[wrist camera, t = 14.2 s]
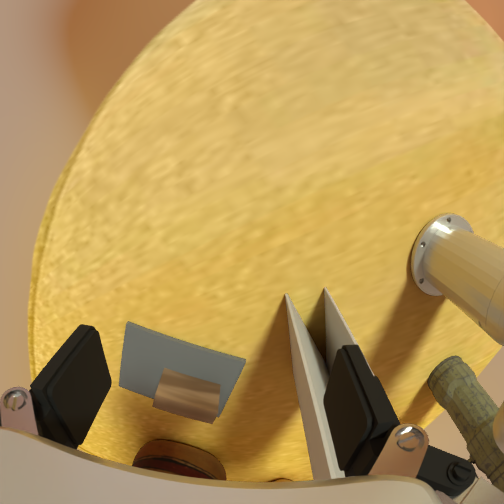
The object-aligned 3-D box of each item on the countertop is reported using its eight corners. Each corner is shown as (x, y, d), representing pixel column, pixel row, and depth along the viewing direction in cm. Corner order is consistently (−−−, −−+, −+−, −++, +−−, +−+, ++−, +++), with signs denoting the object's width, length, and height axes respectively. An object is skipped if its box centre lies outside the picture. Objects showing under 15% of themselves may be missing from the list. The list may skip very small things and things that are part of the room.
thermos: (471, 361, 45) (555, 473, 11) (430, 398, 47) (497, 522, 14) (461, 342, 42) (561, 469, 9) (415, 384, 45) (493, 526, 12)
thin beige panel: (327, 367, 42) (383, 543, 14) (293, 373, 42) (327, 558, 14) (326, 287, 38) (432, 499, 9) (285, 293, 38) (342, 529, 9)
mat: (245, 359, 41) (245, 362, 40) (219, 414, 45) (218, 417, 44) (128, 321, 39) (126, 324, 38) (120, 383, 43) (118, 386, 42)
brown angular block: (164, 367, 41) (155, 394, 35) (220, 384, 42) (217, 412, 36) (161, 380, 42) (152, 406, 36) (215, 396, 43) (212, 424, 37)
